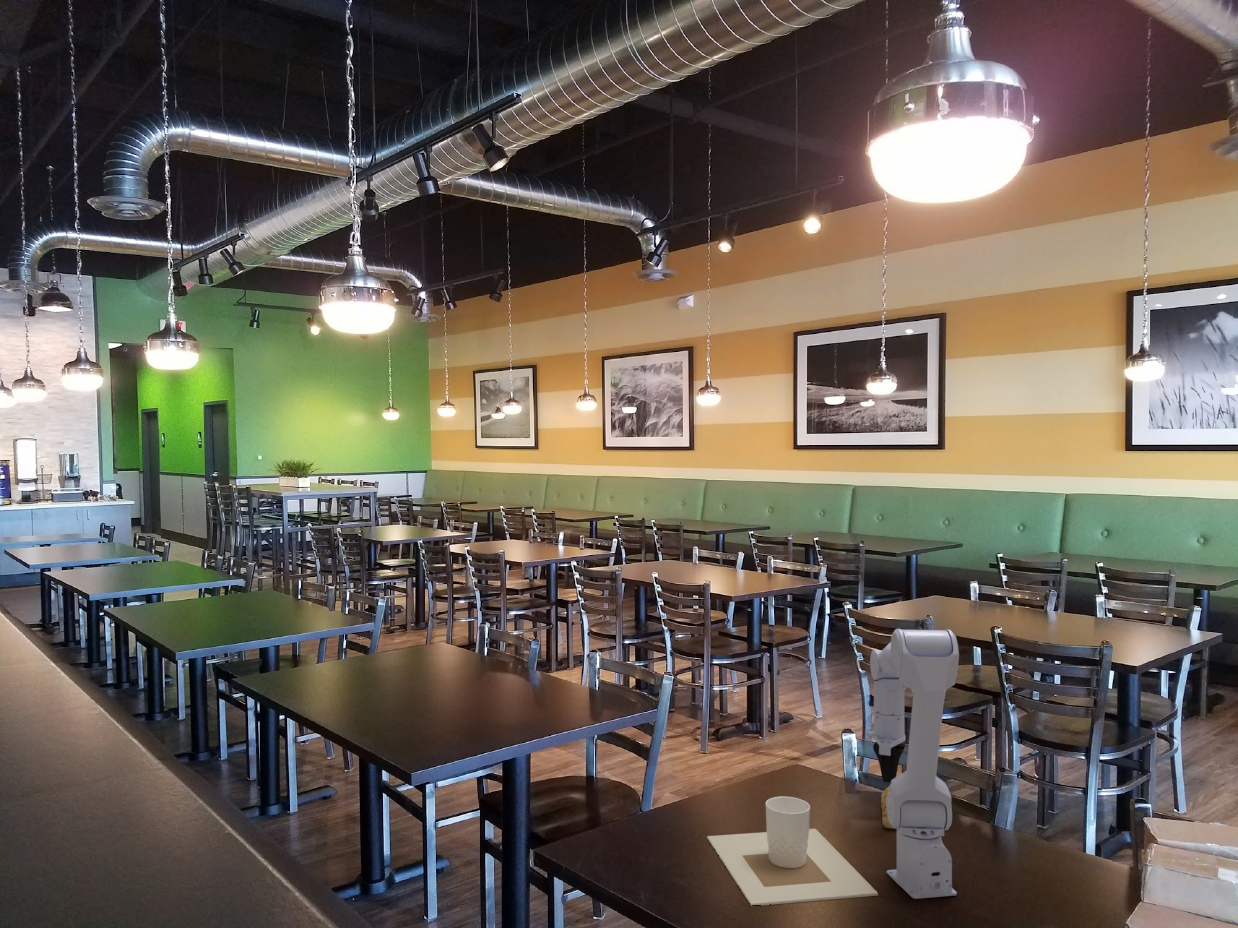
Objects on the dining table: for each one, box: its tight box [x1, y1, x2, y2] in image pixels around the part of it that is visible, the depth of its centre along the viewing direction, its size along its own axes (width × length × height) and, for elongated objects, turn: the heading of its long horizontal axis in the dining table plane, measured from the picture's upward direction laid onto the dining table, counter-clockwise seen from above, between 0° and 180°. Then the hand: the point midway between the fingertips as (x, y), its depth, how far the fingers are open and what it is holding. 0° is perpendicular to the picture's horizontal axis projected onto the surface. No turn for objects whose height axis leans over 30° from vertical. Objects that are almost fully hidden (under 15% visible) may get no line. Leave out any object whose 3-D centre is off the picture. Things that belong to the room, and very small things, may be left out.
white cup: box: [765, 796, 811, 868], centre depth 153 cm, size 8×8×10 cm
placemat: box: [706, 828, 879, 907], centre depth 152 cm, size 26×22×1 cm
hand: (889, 781), depth 166 cm, fingers closed
